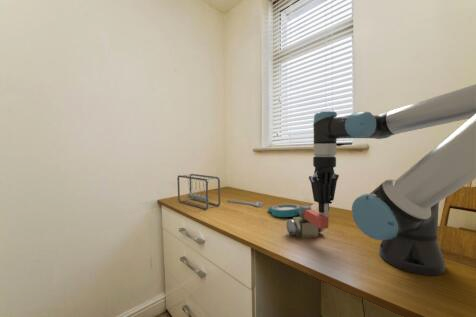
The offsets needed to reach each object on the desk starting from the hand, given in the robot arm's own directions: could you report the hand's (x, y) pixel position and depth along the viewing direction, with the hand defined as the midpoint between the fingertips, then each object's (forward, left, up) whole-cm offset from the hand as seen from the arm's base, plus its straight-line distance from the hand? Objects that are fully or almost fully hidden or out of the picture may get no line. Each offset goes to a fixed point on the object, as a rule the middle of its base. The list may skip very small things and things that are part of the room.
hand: (323, 220), depth 74 cm
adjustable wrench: (+58, +14, -9) cm, 60 cm away
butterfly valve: (+29, -5, -9) cm, 30 cm away
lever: (+3, +3, -1) cm, 4 cm away
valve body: (+8, +3, -8) cm, 12 cm away
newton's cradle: (+65, +43, -8) cm, 79 cm away
